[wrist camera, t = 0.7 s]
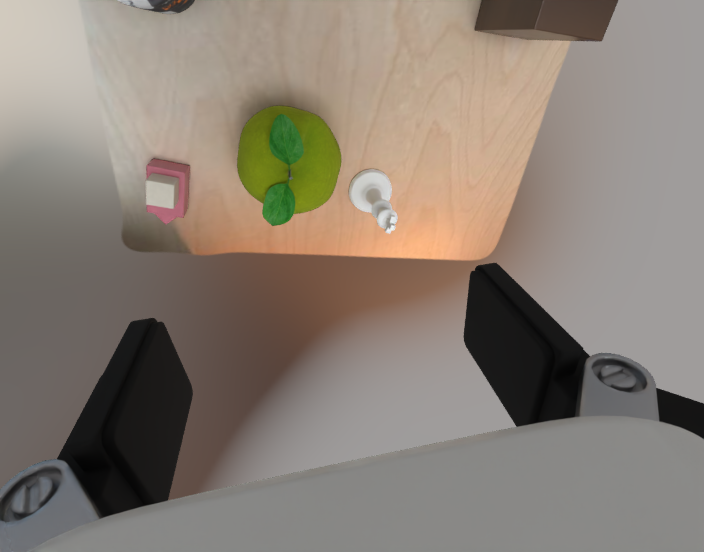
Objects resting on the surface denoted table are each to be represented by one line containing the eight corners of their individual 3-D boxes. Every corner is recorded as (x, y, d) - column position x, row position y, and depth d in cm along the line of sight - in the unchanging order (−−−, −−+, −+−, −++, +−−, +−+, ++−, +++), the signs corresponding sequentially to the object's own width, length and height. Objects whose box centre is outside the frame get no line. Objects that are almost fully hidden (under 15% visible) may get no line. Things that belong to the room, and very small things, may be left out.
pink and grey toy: (153, 158, 37) (139, 172, 33) (190, 165, 38) (180, 180, 34) (153, 213, 40) (140, 232, 36) (187, 218, 41) (178, 237, 37)
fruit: (236, 182, 40) (226, 221, 31) (249, 87, 35) (241, 103, 27) (320, 200, 42) (331, 240, 34) (342, 113, 38) (361, 136, 30)
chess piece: (397, 174, 42) (426, 208, 34) (383, 214, 45) (407, 255, 36) (355, 164, 41) (375, 197, 33) (343, 206, 43) (359, 246, 35)
